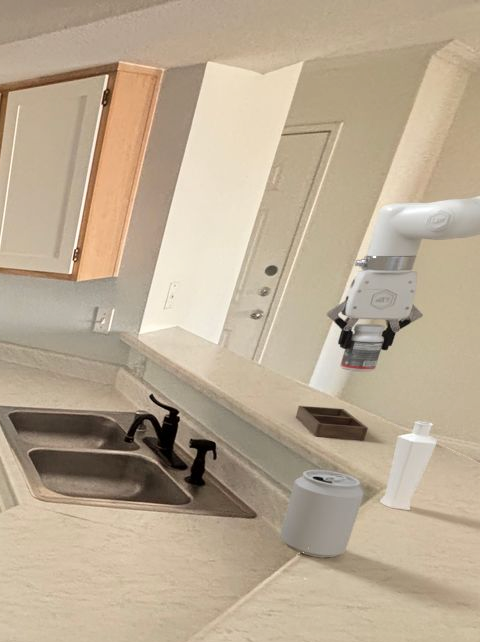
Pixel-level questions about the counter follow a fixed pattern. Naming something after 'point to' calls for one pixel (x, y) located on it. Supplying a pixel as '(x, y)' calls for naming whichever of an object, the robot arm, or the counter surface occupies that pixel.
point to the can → (321, 513)
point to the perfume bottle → (408, 465)
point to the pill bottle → (363, 348)
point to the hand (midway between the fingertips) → (363, 347)
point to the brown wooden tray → (331, 423)
